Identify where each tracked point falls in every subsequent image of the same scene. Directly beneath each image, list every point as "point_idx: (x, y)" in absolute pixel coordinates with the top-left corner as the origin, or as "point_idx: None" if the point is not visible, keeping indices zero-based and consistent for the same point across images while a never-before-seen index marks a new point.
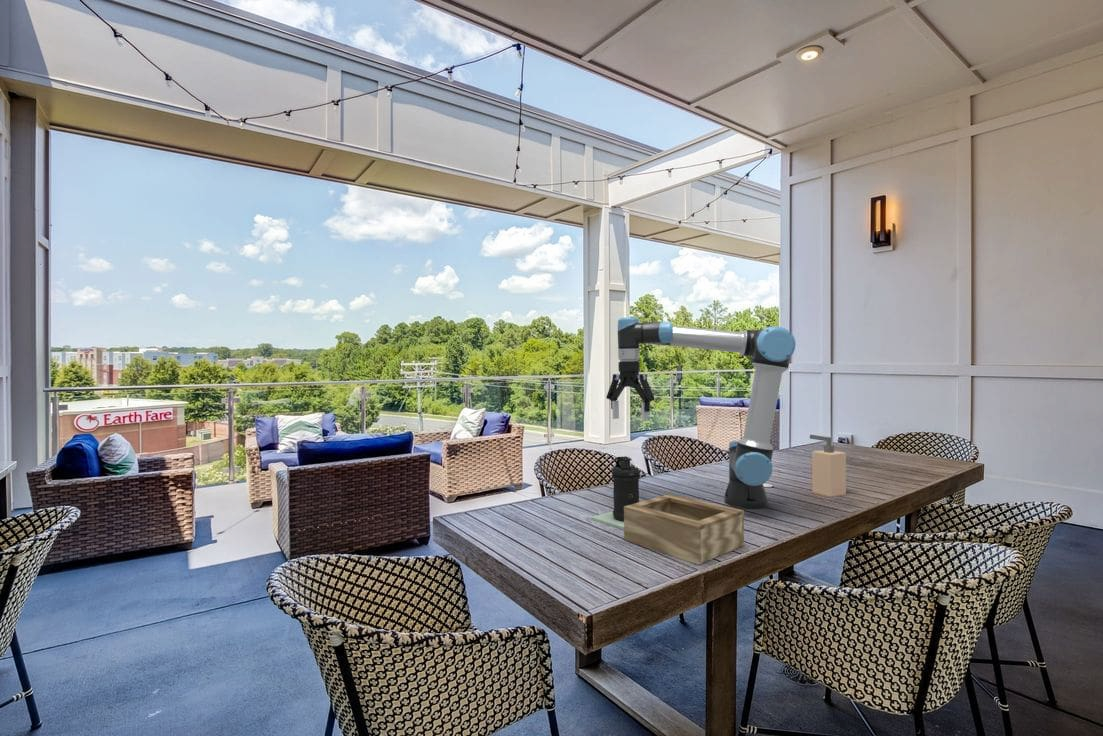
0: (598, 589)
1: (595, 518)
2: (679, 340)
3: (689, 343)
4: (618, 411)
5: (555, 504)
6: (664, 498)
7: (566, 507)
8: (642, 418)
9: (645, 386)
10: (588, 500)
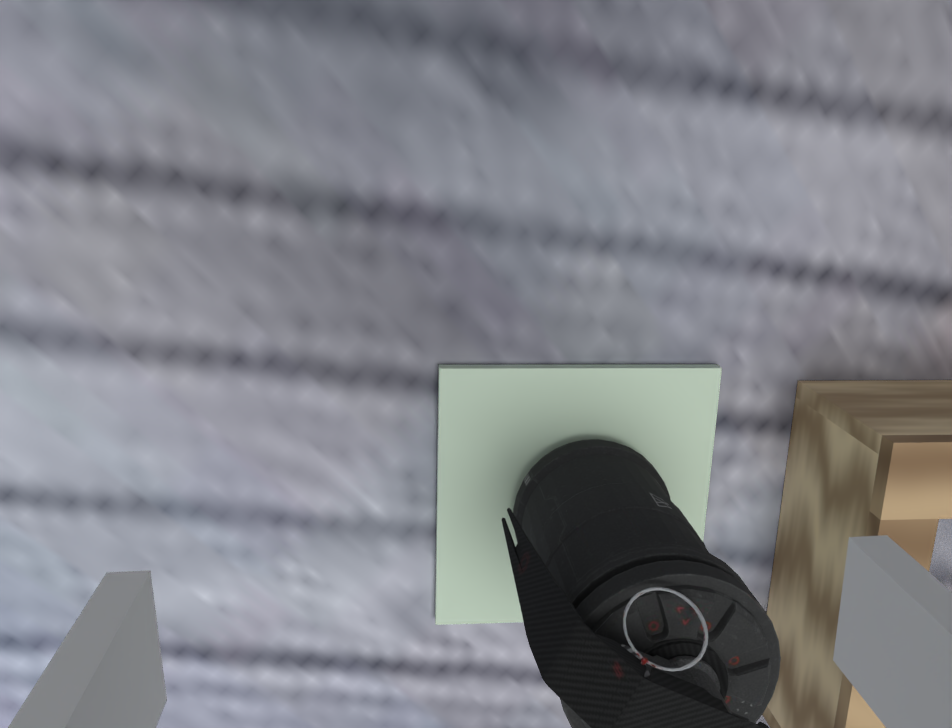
0: None
1: (467, 623)
2: None
3: None
4: (102, 667)
5: (42, 577)
6: (922, 555)
7: (146, 569)
8: (871, 692)
9: None
10: (98, 359)
